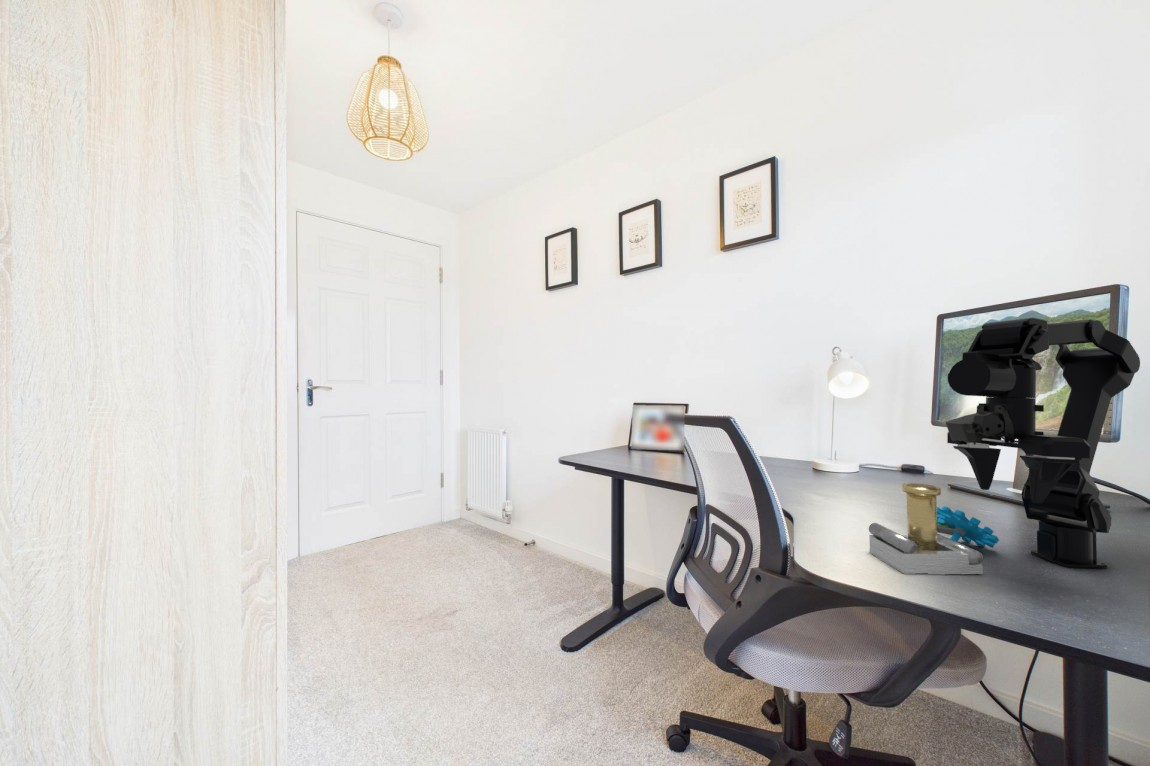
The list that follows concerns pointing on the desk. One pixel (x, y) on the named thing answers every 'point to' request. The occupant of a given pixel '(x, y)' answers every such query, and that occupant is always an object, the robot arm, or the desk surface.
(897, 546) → the metal roller frame
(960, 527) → the gear
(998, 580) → the desk surface
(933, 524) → the pin
